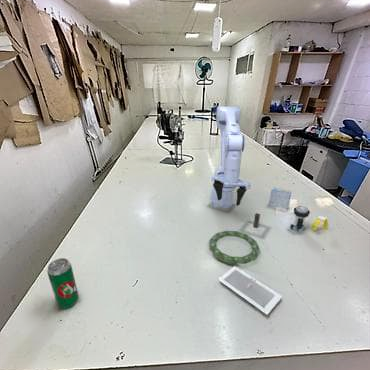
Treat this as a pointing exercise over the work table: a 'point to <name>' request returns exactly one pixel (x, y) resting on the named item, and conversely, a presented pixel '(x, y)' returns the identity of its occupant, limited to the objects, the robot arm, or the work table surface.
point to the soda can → (63, 283)
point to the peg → (256, 220)
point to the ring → (231, 259)
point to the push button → (299, 218)
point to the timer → (320, 218)
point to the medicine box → (280, 197)
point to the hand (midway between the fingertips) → (228, 201)
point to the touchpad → (251, 289)
